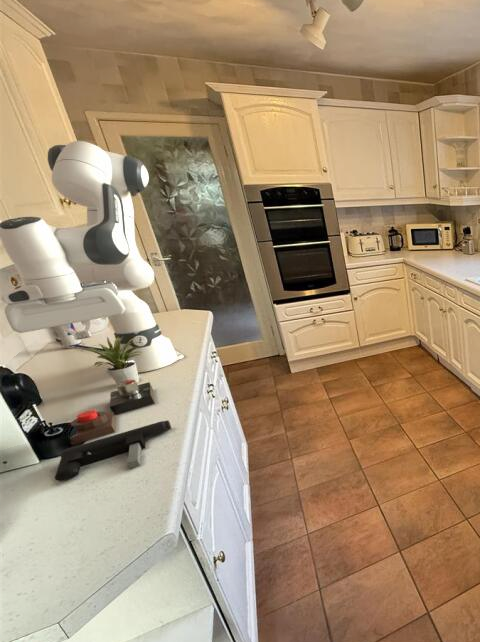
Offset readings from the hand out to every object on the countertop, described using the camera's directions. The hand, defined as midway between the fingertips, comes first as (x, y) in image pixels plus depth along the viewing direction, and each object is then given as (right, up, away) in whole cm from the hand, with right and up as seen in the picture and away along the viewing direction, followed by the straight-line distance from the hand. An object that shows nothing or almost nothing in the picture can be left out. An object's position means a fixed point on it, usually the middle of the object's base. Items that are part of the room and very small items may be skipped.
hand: (84, 338), depth 103 cm
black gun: (+18, -29, -9) cm, 35 cm away
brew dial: (-2, -16, +14) cm, 21 cm away
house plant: (-15, -15, +27) cm, 34 cm away
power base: (+1, -25, +2) cm, 25 cm away
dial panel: (-1, -19, +15) cm, 24 cm away
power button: (+1, -21, 0) cm, 21 cm away
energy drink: (-73, -1, +63) cm, 96 cm away
